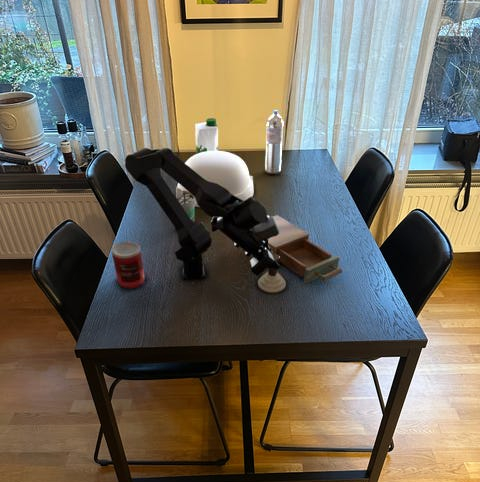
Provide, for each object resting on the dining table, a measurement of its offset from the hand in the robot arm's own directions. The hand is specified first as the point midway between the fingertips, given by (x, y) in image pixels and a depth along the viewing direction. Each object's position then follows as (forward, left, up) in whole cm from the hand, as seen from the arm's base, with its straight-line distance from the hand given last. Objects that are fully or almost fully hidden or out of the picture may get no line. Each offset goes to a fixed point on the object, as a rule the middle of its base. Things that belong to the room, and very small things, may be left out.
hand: (277, 264), depth 126 cm
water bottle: (+80, -15, -7) cm, 82 cm away
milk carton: (+88, +12, -7) cm, 89 cm away
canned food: (+7, +41, -7) cm, 42 cm away
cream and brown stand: (0, +1, -7) cm, 7 cm away
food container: (+38, +23, -1) cm, 44 cm away
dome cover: (+64, +11, -7) cm, 65 cm away
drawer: (+6, -11, -6) cm, 14 cm away
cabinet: (+20, -4, -7) cm, 21 cm away
